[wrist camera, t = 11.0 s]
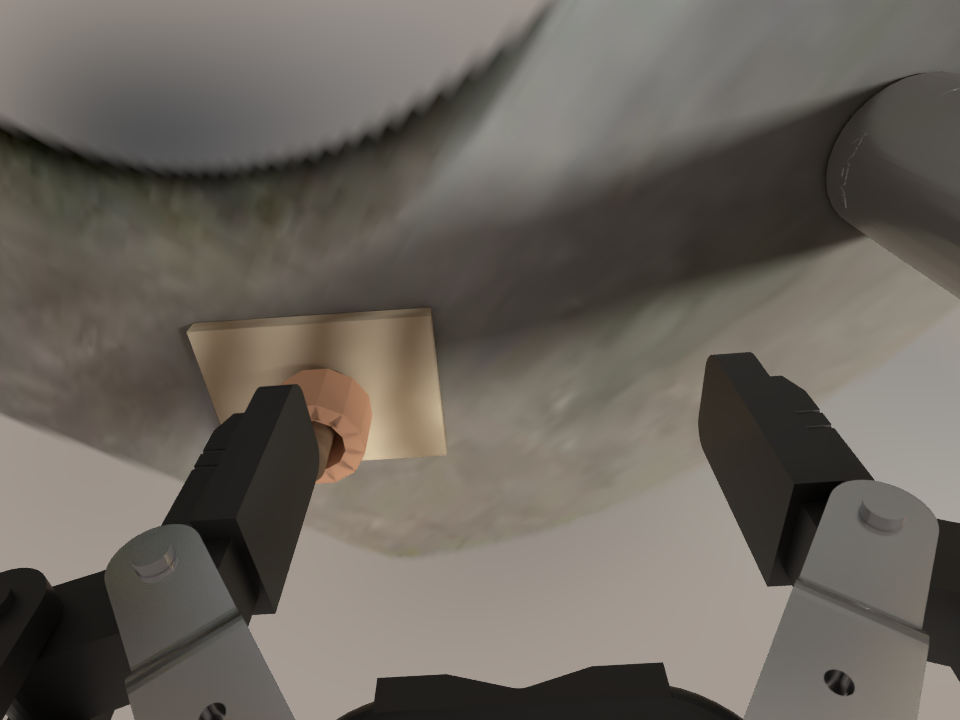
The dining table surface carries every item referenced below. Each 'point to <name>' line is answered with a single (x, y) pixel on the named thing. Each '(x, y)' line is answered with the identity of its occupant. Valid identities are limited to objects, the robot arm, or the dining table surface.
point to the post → (323, 443)
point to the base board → (335, 368)
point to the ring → (337, 417)
